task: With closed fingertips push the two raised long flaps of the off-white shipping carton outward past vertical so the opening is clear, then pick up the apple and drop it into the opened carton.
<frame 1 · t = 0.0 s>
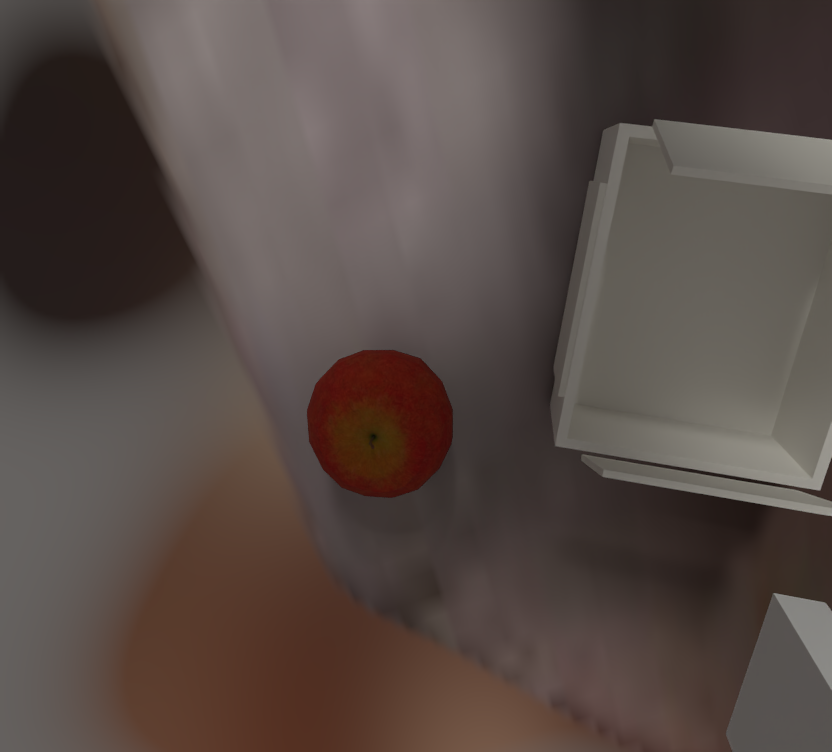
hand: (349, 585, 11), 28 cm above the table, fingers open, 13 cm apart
flap 2: (799, 160, 25), point 9 cm above the table, hinge at 72.0°
apple: (395, 395, 40), on the table
carton: (692, 293, 36), on the table
flap 1: (708, 484, 29), point 9 cm above the table, hinge at 72.0°
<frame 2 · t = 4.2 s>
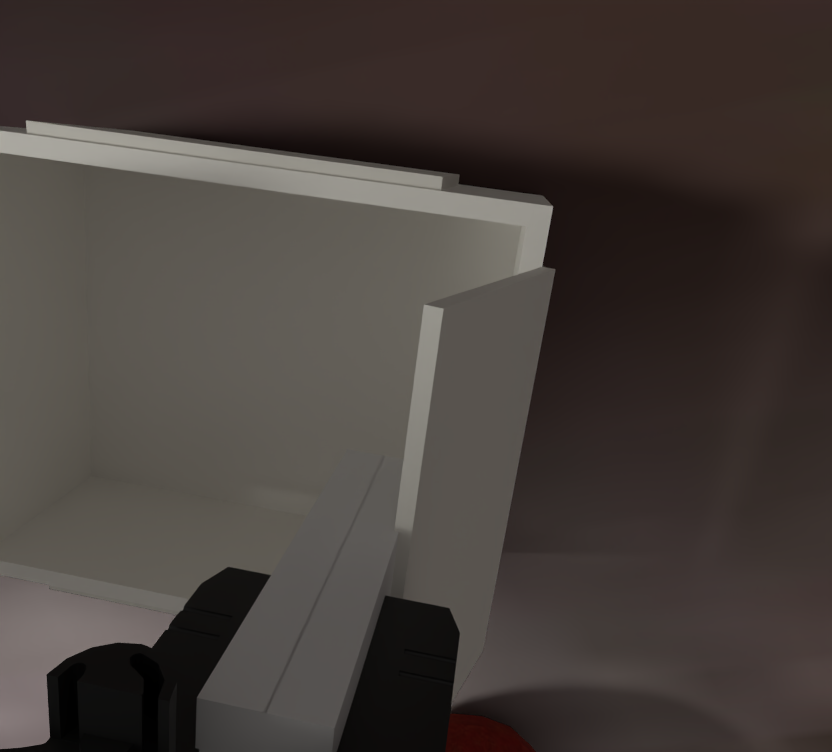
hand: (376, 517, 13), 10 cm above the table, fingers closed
apple: (469, 747, 27), on the table
carton: (288, 353, 23), on the table
flap 1: (462, 530, 14), point 9 cm above the table, hinge at 72.1°, touching gripper
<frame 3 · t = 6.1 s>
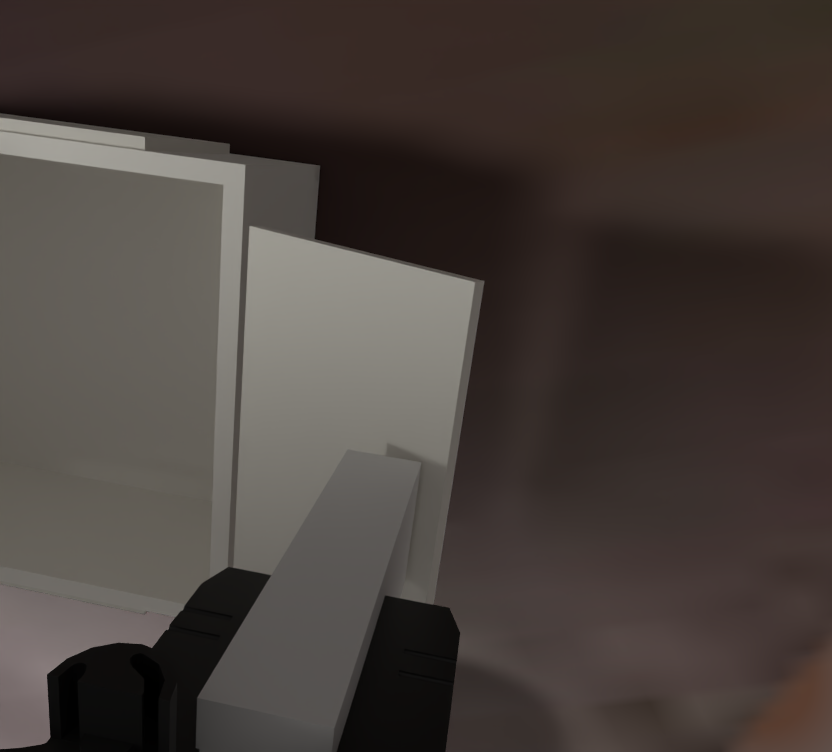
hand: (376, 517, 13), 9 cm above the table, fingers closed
carton: (96, 324, 24), on the table
flap 1: (331, 476, 15), point 8 cm above the table, hinge at 150.4°, touching gripper
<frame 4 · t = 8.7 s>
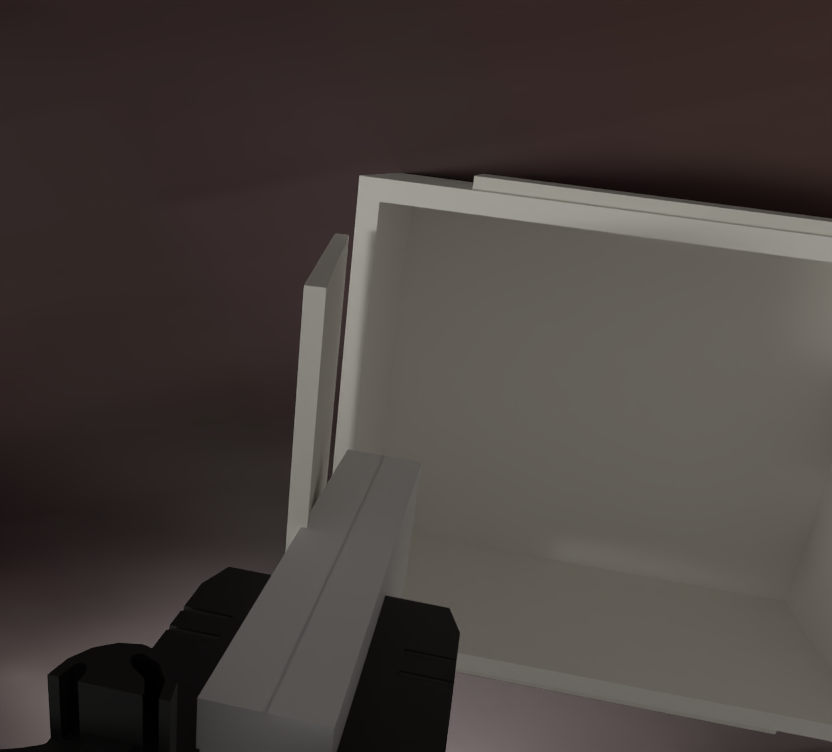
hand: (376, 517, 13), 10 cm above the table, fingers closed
flap 2: (311, 504, 14), point 10 cm above the table, hinge at 79.9°, touching gripper
carton: (607, 402, 22), on the table
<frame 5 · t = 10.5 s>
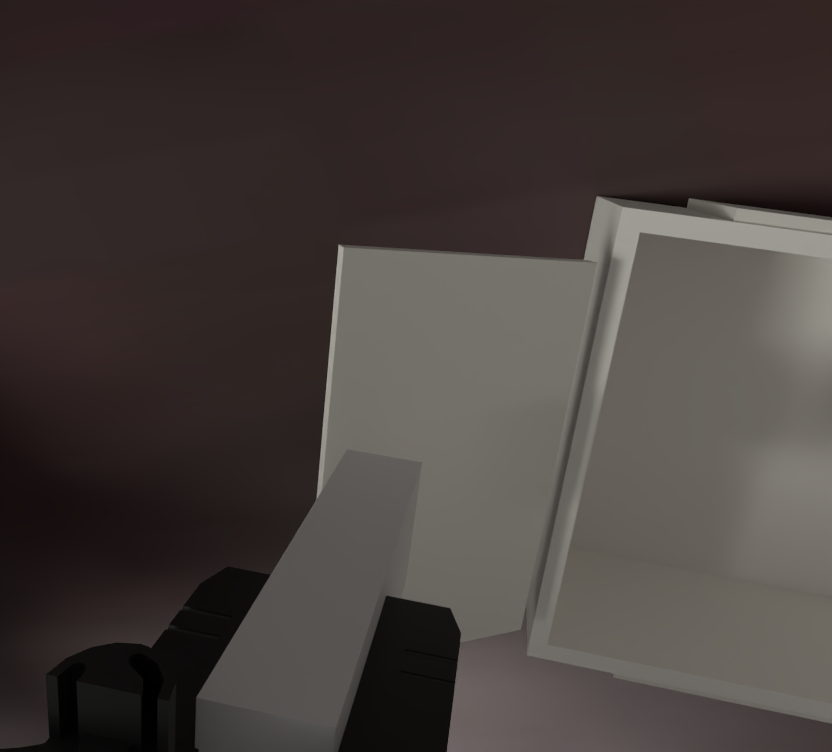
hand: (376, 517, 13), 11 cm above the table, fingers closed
flap 2: (445, 470, 16), point 8 cm above the table, hinge at 146.8°
carton: (788, 422, 22), on the table
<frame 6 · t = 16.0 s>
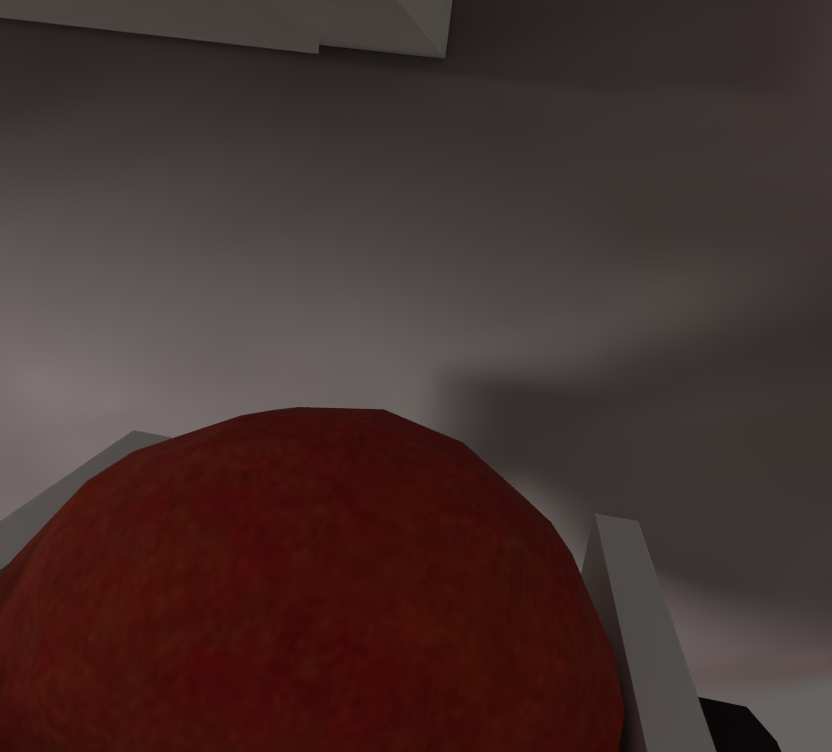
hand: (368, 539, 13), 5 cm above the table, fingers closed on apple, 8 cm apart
apple: (374, 525, 13), point 4 cm above the table, touching gripper
when the fingers open (7 cm above the table, at t = 19.8 s): apple drops 6 cm, resting on carton.
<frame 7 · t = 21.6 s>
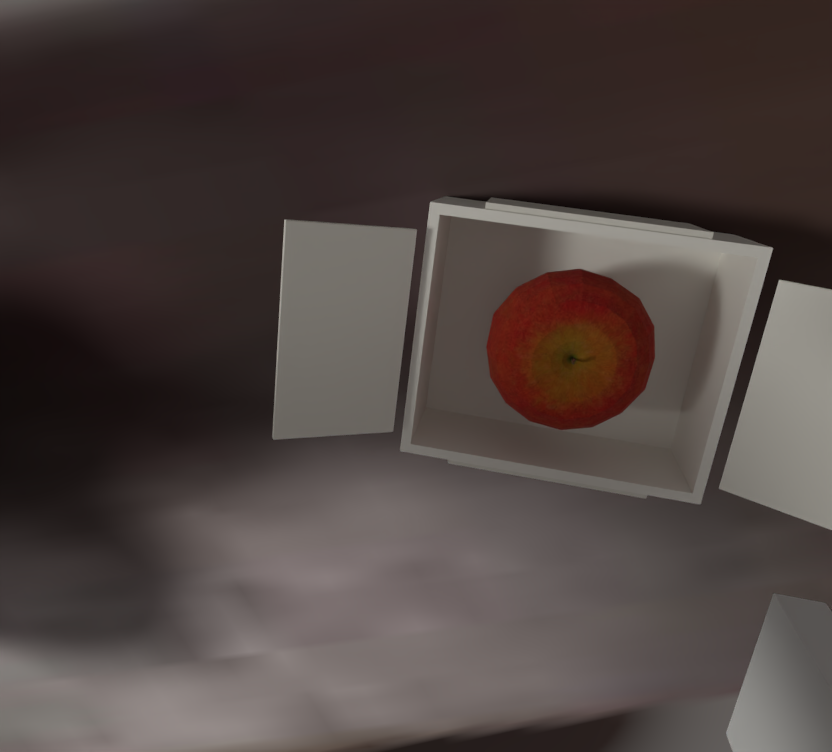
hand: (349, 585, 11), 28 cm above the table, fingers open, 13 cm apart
flap 2: (343, 334, 31), point 8 cm above the table, hinge at 146.8°
apple: (563, 331, 37), resting on carton
carton: (564, 329, 38), on the table
flap 1: (822, 409, 29), point 8 cm above the table, hinge at 150.6°
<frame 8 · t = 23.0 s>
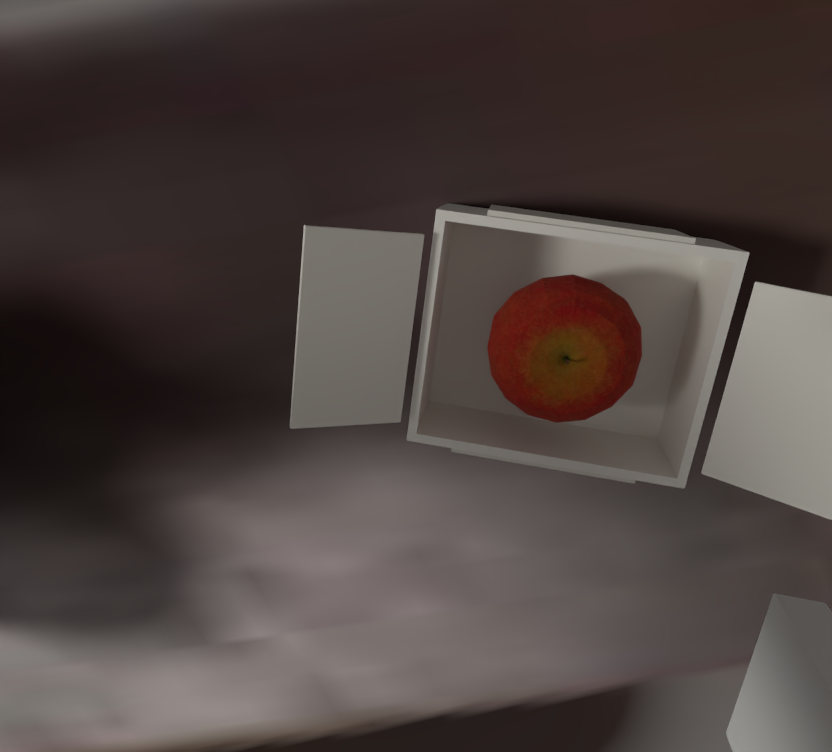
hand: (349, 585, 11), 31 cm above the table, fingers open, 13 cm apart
flap 2: (356, 331, 34), point 8 cm above the table, hinge at 146.8°
apple: (557, 329, 40), resting on carton
carton: (558, 327, 40), on the table
flap 1: (793, 399, 32), point 8 cm above the table, hinge at 150.6°
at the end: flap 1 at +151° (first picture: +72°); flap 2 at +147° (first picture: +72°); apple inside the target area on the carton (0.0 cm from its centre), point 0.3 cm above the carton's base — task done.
